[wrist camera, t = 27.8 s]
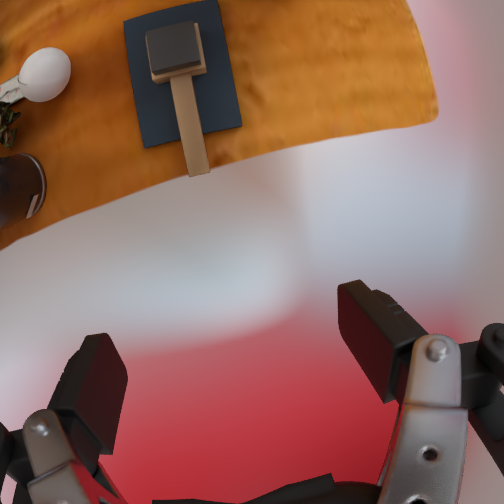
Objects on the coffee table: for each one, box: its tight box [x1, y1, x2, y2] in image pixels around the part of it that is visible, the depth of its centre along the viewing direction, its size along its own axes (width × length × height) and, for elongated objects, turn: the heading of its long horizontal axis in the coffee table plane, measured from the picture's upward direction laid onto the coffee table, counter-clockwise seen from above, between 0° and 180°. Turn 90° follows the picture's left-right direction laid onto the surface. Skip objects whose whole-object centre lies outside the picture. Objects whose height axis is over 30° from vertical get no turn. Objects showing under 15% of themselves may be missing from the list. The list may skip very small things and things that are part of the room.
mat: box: [123, 0, 242, 148], centre depth 31 cm, size 12×18×1 cm, turn 10°
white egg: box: [17, 47, 71, 102], centre depth 25 cm, size 10×7×7 cm
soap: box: [0, 74, 25, 105], centre depth 27 cm, size 10×4×1 cm, turn 96°
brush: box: [146, 20, 210, 177], centre depth 29 cm, size 6×18×5 cm, turn 10°
